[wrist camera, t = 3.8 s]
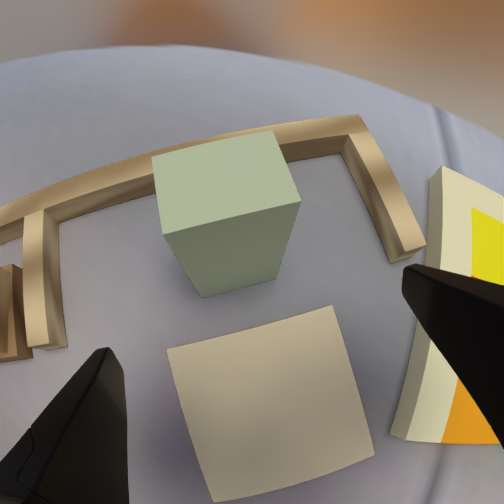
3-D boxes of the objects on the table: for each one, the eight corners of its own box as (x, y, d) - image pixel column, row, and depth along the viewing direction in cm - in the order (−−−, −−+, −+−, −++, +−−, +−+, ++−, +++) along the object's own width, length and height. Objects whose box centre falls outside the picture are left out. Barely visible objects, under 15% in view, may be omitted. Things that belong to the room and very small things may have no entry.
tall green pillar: (275, 279, 21) (301, 200, 11) (201, 298, 20) (163, 234, 11) (260, 232, 22) (272, 130, 12) (190, 249, 22) (151, 157, 12)
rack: (410, 256, 22) (426, 244, 19) (-30, 361, 18) (-48, 358, 15) (351, 133, 26) (358, 114, 23) (-30, 239, 21) (-45, 229, 19)
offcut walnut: (36, 358, 19) (17, 355, 16) (-4, 363, 18) (-23, 361, 16) (29, 273, 21) (12, 263, 19) (-9, 285, 21) (-26, 277, 18)
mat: (372, 453, 17) (375, 454, 16) (214, 500, 16) (213, 503, 15) (330, 306, 20) (332, 304, 20) (167, 349, 19) (166, 349, 19)
